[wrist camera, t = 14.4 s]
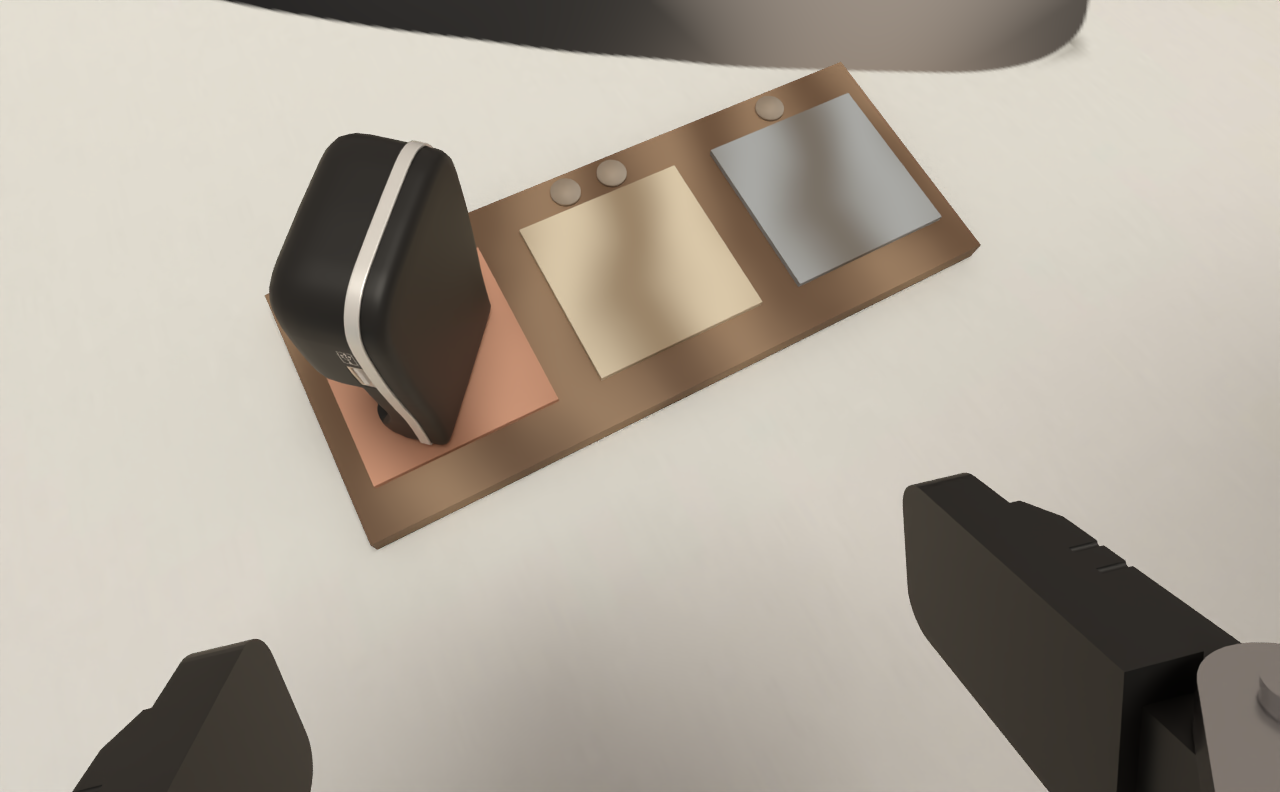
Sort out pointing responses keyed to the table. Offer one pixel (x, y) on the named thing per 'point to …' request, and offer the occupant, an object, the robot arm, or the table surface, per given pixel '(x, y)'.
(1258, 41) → the table surface
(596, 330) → the tile board
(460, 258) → the battery charger
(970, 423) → the table surface
